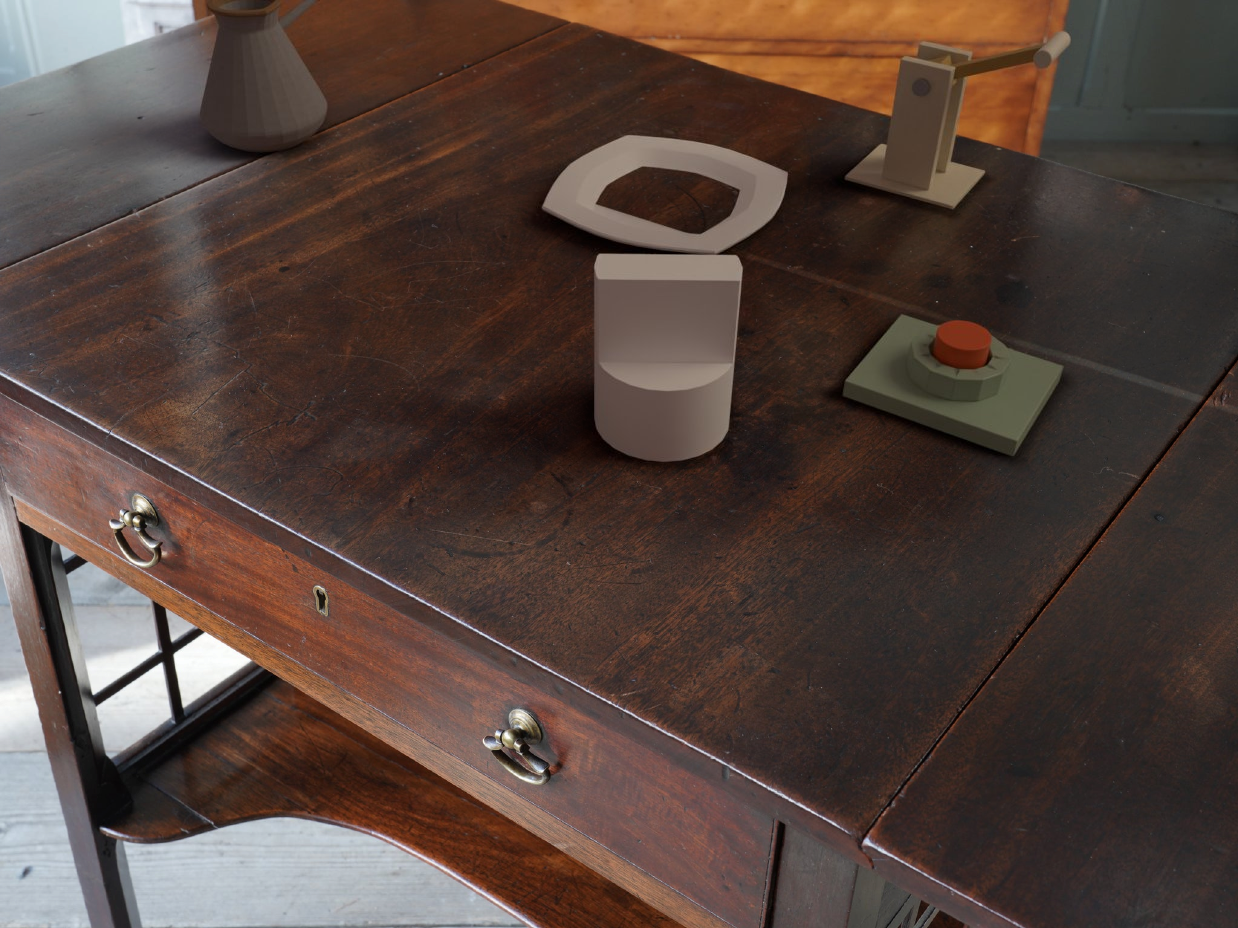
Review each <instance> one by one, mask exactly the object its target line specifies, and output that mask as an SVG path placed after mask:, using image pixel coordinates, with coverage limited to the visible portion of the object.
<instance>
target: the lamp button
mask: <svg viewBox="0 0 1238 928" xmlns="http://www.w3.org/2000/svg"><path fill="white" fill-rule="evenodd" d="M939 325H940V326H939V327H938V329H937V332H936V337H935V342H934V347H933V352H932V353H933V357H934V358H935V359H936V360H938V361H939V362H940V363H941V364H944V365H947V366H950V367H953V368H956V369H971V370H975V369H978V368H981V367H983V366H984V365H985V363H986V361H987V357H988V353H989V349H990V345H991V341H992V338H991V335H992V334H991V333H990V331H988V329H986V327H983V326H982V325H980V324H978V323H975V322H972V321H968V320H957V319H955V320H949V321H946V322H944V323H941V324H939ZM990 334H991V335H990Z"/></svg>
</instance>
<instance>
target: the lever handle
mask: <svg viewBox="0 0 1238 928" xmlns="http://www.w3.org/2000/svg"><path fill="white" fill-rule="evenodd" d="M1070 45H1071V35H1070V34H1069V33H1068V32H1067V31H1064V30H1058V31H1057V32H1055V33H1054V34H1053V35H1052V36H1051V37H1050V38H1049V39H1048V40H1047V41H1046V42H1044V43H1040V44H1035V45H1031V46H1027V47H1023V48H1018V49H1013V50H1009V51H1005V52H1000V53H996V54H993V55H988V56H987V55H986V56H984V57H979V58H975V59H971V60H970V61H965V62H961V63H957V64H952V61H951V57H950V55H947V56H943V57H938V58H934V59H930V60H926V61H931V62H935V63H939V64H944V65H948V66H952V67H955V73H954V78H953V83H952V86H953V85H954V84H956V79H958V78H963V77H967V76H968V77H970V76H975V75H976V76H977V75H980V74H985V73H989V72H994V71H999V70H1003V69H1007V68H1012V67H1017V66H1021V65H1026V64H1031V63H1033V64H1034V66H1035V67H1036V68H1038V69H1041V70H1044V69H1047V68H1049V67H1050V66H1051V65H1052V64H1053V63H1054V62H1055V61H1056V60H1057V58H1059V57H1060V55H1061V54H1062V53H1064V51H1065V50H1066V49H1067V48H1068V47H1069V46H1070ZM968 77H967V78H968Z"/></svg>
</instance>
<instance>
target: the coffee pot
mask: <svg viewBox="0 0 1238 928" xmlns="http://www.w3.org/2000/svg"><path fill="white" fill-rule="evenodd" d="M318 1H319V0H302V1H300V2H299V4H297V5H296V6H294V7H293V8H292V9H290V10H289V11H288V12H287V13H286V14H285V13H284V15H283V16H280V18H279V8H281V6H282V5H283V0H206V8H207V9H208V11H209V12H211V13H212V14H213V15H214V18H215V19H216V22H217V24H218V28H217V33H216V36H215V37H216V38H215V42H214V46H213V51H212V55H211V60H210V64H209V68H208V73H207V77H206V83H205V87H204V91H203V95H202V100H201V104H200V108H199V118H200V121H201V124H202V126H203V127H204V128H205V129H206V131H207V132H208V133H209V134H210V135H211V136H212V137H213V138H214V139H216V140H217V141H219V142H220V143H222V144H224V145H225V146H228V147H230V148H234V149H236V150H239V151H243V152H248V153H273V152H280V151H285V150H288V149H292V148H294V147H297V146H298V145H300V144H302V143H303V142H305V141H306V140H308V139H309V138H311V137H313V136H314V135H315V134H316V133H317V132H318V130H319V129H320V127H322V125H323V124H324V122H325V119H326V116H327V111H328V102H327V99H326V97H325V96H324V94H323V92H322V90H321V89H320V87H319V85H318V84H317V82H316V81H315V79H314V77H313V76H312V73H310V71H309V69H308V68H307V66H306V64H305V62H304V61H303V59H302V58H301V56H300V55H299V53H298V51H297V50H296V48H295V47H294V44H293V43H292V42H291V40H290V38H289V37H288V35H287V33H286V31H285V30H286V29H287V28H288V27H289V26H291V25H292V24H293V23H294V22H295V21H296V20H298V19H299V18H300V17H301V16H302V15H303V14H305V13H306V12H307V11H308V10H309V9H310V8H311V7H313V6H314V5H315V4H316V3H317V2H318Z"/></svg>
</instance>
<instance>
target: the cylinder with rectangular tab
mask: <svg viewBox="0 0 1238 928" xmlns="http://www.w3.org/2000/svg"><path fill="white" fill-rule="evenodd" d="M593 270H594V271H593V331H594V332H593V335H594V336H593V345H594V346H593V355H594V356H593V363H594V364H593V365H594V367H593V368H594V369H593V371H594V373H593V378H594V379H593V381H594V382H593V385H594V386H593V387H594V388H593V390H594V391H593V392H594V393H593V395H594V396H593V397H594V398H593V399H594V400H593V401H594V402H593V404H594V405H593V407H594V410H593V419H594V422H595V428H596V429H595V430H597V432H598V434H599V435H600V437H601V438H602V440H603V441H604V442H606V443H607V444H608V445H610V447H611V448H613V449H614V450H617V451H618V452H621V453H623V454H625V455H627V456H629V457H632V458H637V459H641V460H644V461H650V462H651V461H652V462H653V461H654V462H663V463H665V462H677V461H680V462H681V461H684V460H689V459H692V458H696V457H699V456H701V455H704V454H705V453H708V452H711V451H712V450H713V449H715V448H716V447H717V446H718V445H719V444H720V443H721V442H722V441H723V440H724V439H725V437H726V435H727V433H728V431H729V428H730V418H731V417H730V415H731V406H732V405H731V404H732V393H733V385H734V383H733V382H734V371H735V361H736V348H737V338H738V337H737V336H738V327H739V326H738V325H739V315H740V304H741V292H742V281H743V271H744V267H743V265H742V263H741V259H740V258H739V256H738V255H737V254H716V255H707V254H663V253H662V254H660V253H659V254H658V253H657V254H656V253H653V254H651V253H647V254H646V253H598V255H597V256H596V259H595V262H594V266H593Z"/></svg>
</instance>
